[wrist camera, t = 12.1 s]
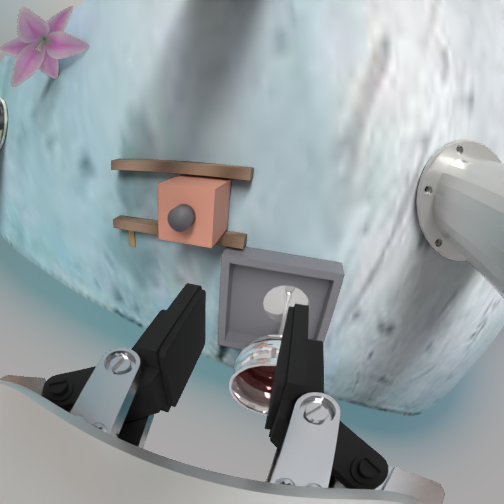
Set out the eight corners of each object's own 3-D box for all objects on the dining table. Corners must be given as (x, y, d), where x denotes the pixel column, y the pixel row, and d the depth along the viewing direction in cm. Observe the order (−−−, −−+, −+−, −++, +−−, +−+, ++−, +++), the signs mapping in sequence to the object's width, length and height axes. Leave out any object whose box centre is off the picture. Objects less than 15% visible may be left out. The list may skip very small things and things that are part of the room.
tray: (341, 262, 27) (344, 274, 25) (316, 347, 32) (316, 362, 30) (228, 244, 29) (221, 253, 26) (223, 331, 34) (217, 344, 31)
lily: (35, 88, 26) (1, 109, 19) (23, 23, 17) (-15, 31, 11) (103, 60, 27) (76, 72, 20) (94, -11, 18) (64, -17, 12)
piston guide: (253, 167, 25) (250, 169, 24) (244, 266, 29) (240, 272, 28) (119, 158, 27) (111, 160, 26) (122, 243, 31) (115, 248, 30)
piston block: (231, 179, 26) (210, 192, 20) (227, 228, 28) (207, 253, 22) (182, 174, 26) (151, 186, 21) (181, 221, 29) (152, 244, 23)
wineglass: (268, 267, 28) (243, 349, 18) (328, 291, 28) (335, 379, 17) (246, 317, 31) (218, 400, 20) (301, 337, 31) (294, 424, 20)
